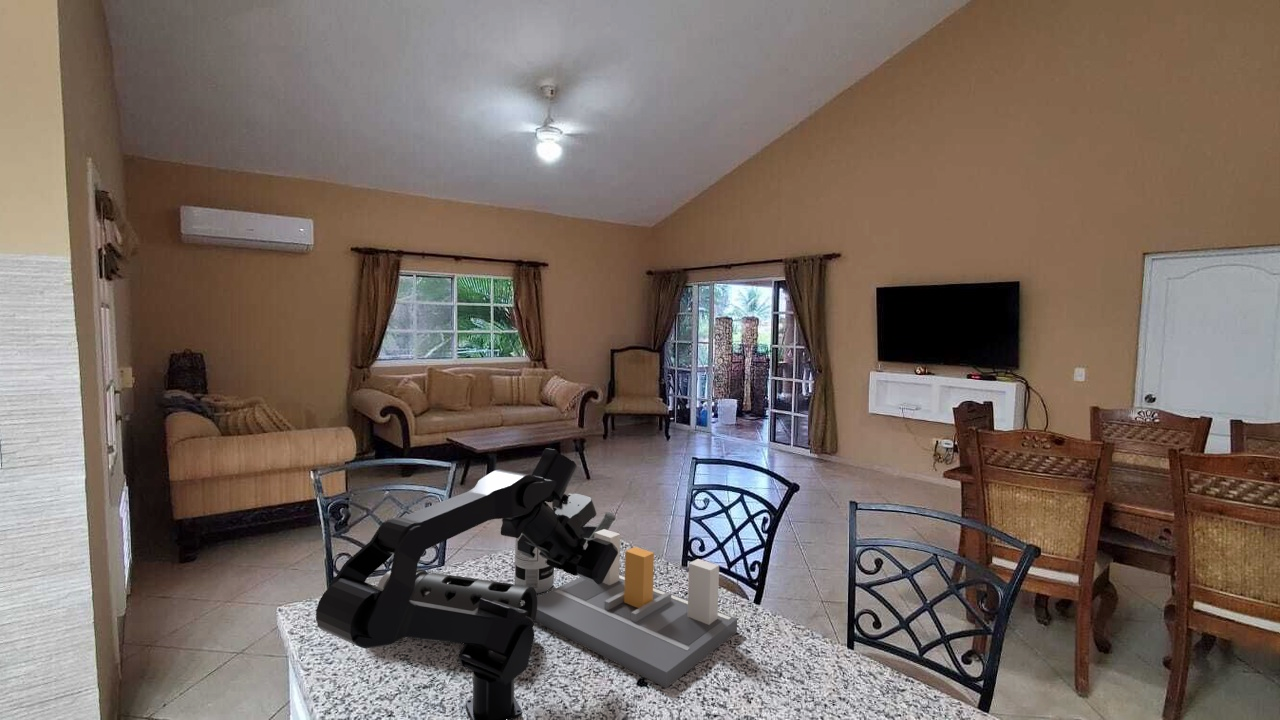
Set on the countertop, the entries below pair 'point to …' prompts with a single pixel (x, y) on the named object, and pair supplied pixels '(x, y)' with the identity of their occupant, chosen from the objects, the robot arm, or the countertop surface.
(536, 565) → the supplement can
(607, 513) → the mortar and pestle
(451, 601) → the muzzle brake
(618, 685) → the countertop surface
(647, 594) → the orange tall block
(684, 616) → the slotted gray tray
